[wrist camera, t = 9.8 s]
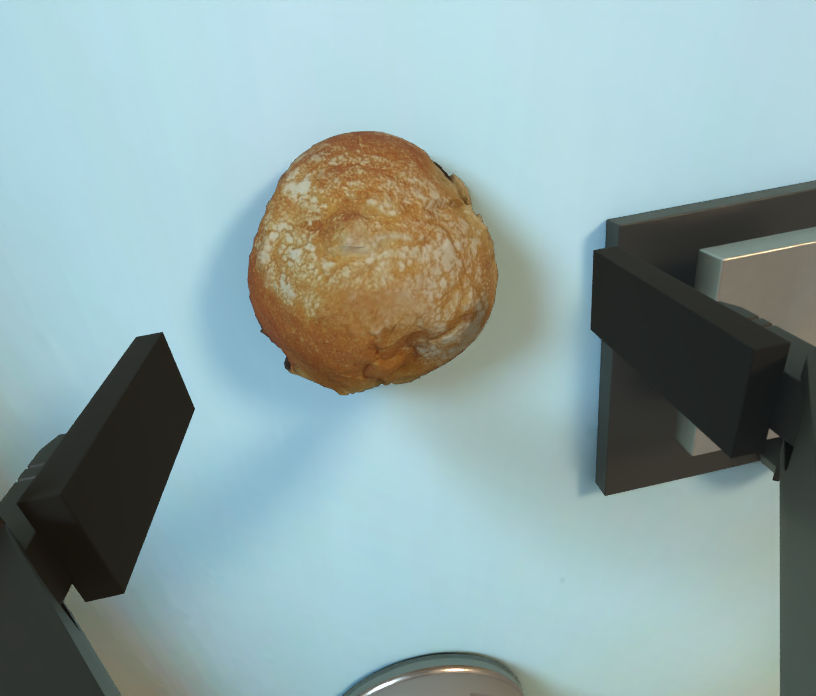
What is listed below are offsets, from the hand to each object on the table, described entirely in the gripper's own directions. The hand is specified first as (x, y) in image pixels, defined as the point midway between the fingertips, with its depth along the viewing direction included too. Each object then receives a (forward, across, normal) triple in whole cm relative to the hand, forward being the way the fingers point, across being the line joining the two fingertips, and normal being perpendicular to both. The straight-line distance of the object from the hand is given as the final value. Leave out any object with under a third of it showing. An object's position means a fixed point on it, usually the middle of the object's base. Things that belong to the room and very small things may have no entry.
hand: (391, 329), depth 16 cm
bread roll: (+8, 0, 0) cm, 8 cm away
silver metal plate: (+5, -16, +6) cm, 18 cm away
